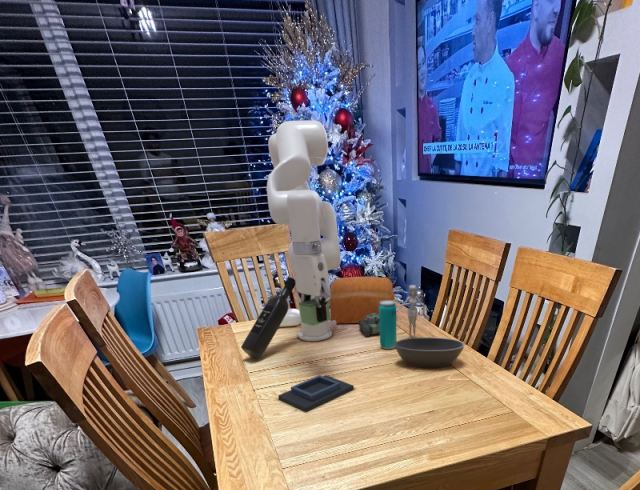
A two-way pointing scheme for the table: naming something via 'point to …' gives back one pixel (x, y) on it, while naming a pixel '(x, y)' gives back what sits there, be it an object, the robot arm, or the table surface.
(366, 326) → the toy tank
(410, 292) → the human figurine
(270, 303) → the wine bottle
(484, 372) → the table surface
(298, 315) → the earbud case
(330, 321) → the robot arm
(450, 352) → the bowl
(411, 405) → the table surface
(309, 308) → the green block
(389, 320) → the beverage can
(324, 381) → the black pad
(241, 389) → the table surface
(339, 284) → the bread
